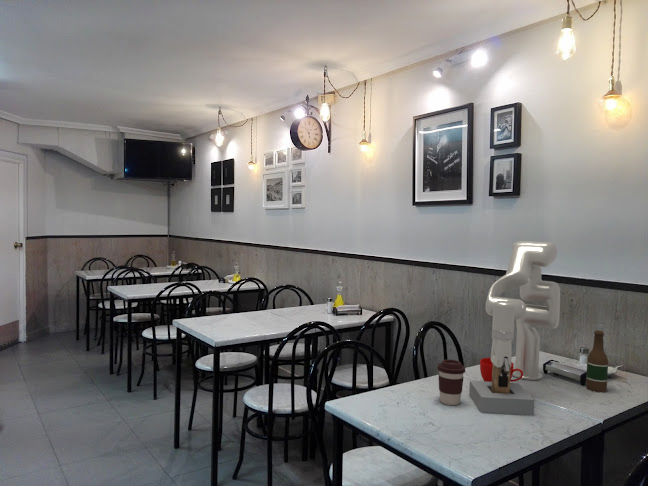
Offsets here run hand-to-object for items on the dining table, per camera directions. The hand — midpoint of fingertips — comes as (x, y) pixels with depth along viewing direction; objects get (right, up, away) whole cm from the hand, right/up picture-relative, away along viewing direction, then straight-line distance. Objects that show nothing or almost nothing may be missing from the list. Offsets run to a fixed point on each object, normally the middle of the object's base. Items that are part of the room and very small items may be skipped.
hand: (500, 383), depth 181 cm
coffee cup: (-18, -7, +1) cm, 20 cm away
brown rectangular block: (0, -5, 0) cm, 5 cm away
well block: (0, -8, 0) cm, 8 cm away
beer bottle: (+46, -8, +20) cm, 51 cm away
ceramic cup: (+7, -7, +20) cm, 22 cm away
